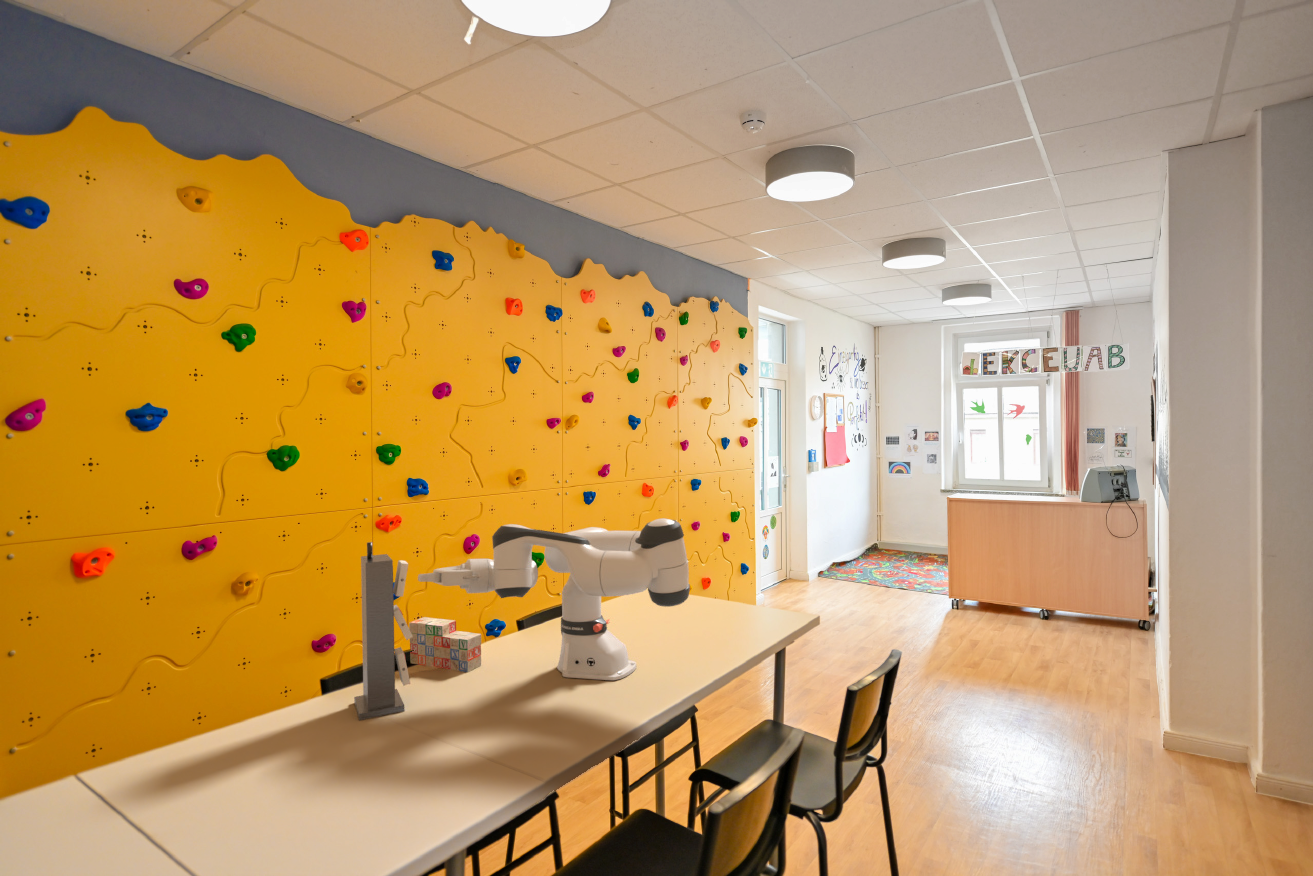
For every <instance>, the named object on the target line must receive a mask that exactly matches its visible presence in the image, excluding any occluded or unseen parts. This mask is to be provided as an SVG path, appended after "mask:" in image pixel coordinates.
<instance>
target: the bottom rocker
mask: <svg viewBox="0 0 1313 876" xmlns="http://www.w3.org/2000/svg"><path fill="white" fill-rule="evenodd" d="M394 657H395V659H396V660H395V662H396V664H397V669H398V673H399V679H400V681H401V684H402V685H403V687H405V686H407V685H410V684H411V681H410V675H409V671H408V670H409V669H408V666H407V662H406V653H405V651H403V648H402V647H401V646H400V647H397V648H394Z"/></svg>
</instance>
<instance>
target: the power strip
mask: <svg viewBox="0 0 1313 876" xmlns="http://www.w3.org/2000/svg"><path fill="white" fill-rule="evenodd" d="M373 553H374V552H373V542H372V541H369V542H366V555H364V556H360V562H361V563H360V567H361V569H360V570H361V571H360V572H361V576H360V579H361V623H362V624H361V629H362V631H361V632H362V636H361V637H362V639H361V640H362V685H363V686H362V687H363V688H362V691H363V693H362V695H358V696H354V697H353V699H354V701H353V702H354V706H355V709H356V713H357V717H358V721H363V720H368V719H373V718H377V717H382V716H388V715H393V714H397V713H402V712H405V710H406V709H405V703H404V701H403V698H402V697H401V695H400V692H399V691H398V689H397V688H396V675H395V674H396V673H395V670H396V669H395V662H396V660H395V659H396V658H395V651H394V649H395V617H394V604H395V603H394V600H395V599H394V593H393V590H394V565H393V564H394V561H393V559H392V558H391V557H390V556H389V554H387V553H385V554H375V555H373Z"/></svg>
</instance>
